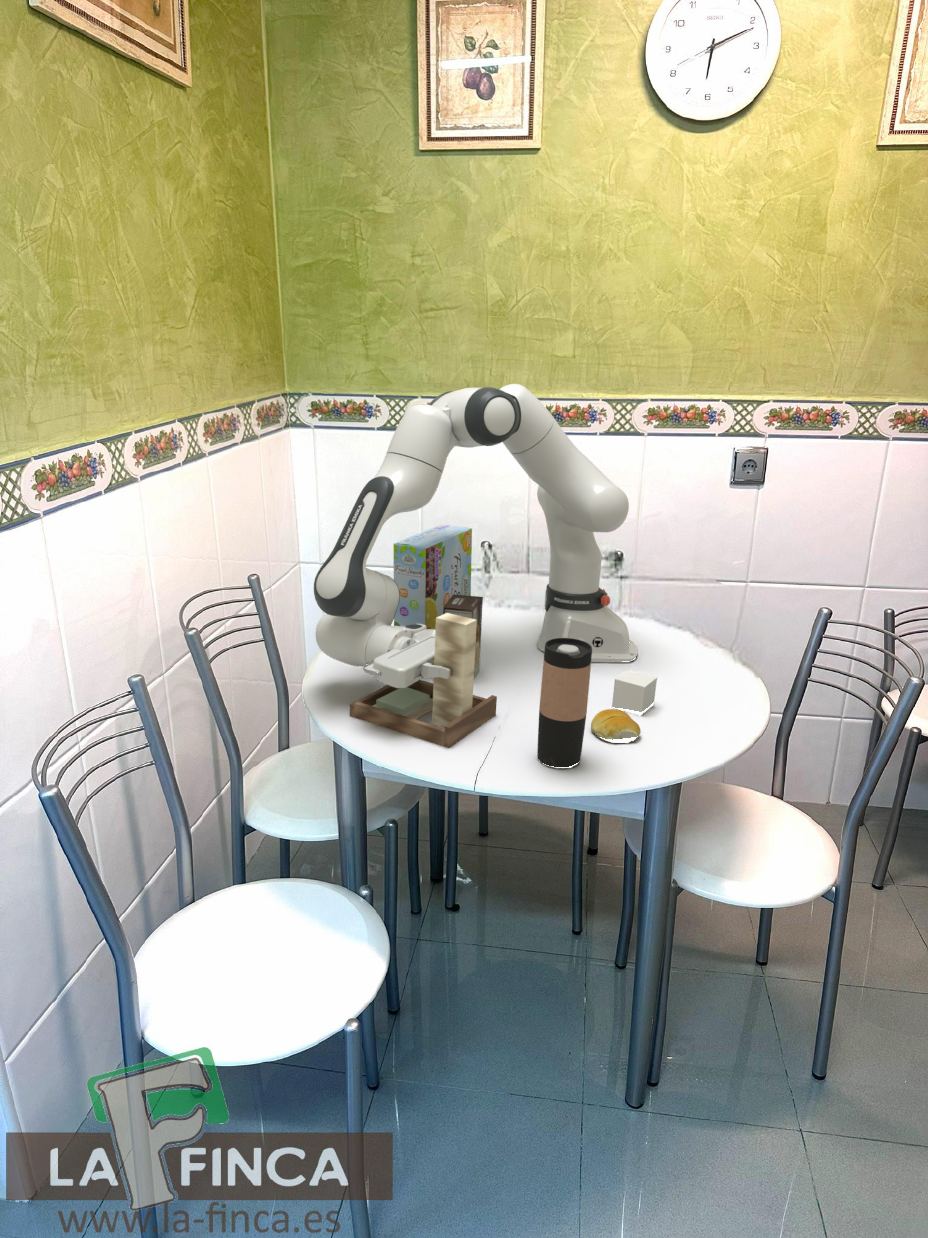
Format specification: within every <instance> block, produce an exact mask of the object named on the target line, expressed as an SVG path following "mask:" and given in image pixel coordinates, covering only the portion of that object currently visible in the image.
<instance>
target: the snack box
mask: <svg viewBox="0 0 928 1238" xmlns="http://www.w3.org/2000/svg"><path fill="white" fill-rule="evenodd" d="M472 545H473V528H472V527H466V526H465V527H464V526H459V525H452V524H442V523H440V524H439V525H436V526H434V527H432V528H429V529H427V530H424V531H421V532H419V533H417V534H414V535H412V536H409V537H406V538H404V539H402V540H400V541H397V542H394V543H393V580H394V581H395V582H396V584H397V586H398V588H399V592H400V601H399V605H398V608H397V611H396V614H395V617H394V619H393V627H394V626H407V625H413V624H423V625H426V629H435V630H436V618H437V617H439V616H441V615H443V607H444V606H445V604H446V603H447V602H448V601H449V599H450V598H451V597H452V595H454V594H455V595H467V596H472V595H471V593H472V592H471V590H472V588H471V587H472V555H473V554H472V553H473V552H472V550H473V548H472Z"/></svg>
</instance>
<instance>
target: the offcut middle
mask: <svg viewBox="0 0 928 1238" xmlns="http://www.w3.org/2000/svg"><path fill="white" fill-rule="evenodd" d="M373 706H374V707H377V708H380V709H383V710H386V709H384V708H381V707H378V706H376V704H375V705H373ZM432 706H433V699H432V698H429V701H428V702H426V703H424V704H422V705H420V706H419V707H417V708H415V709H413V710H411V711H409V712H407V713H405V714H403V715H402V716H406V717H409V718H413V717H415V716H417V715H418V714H420V713H422V712H424V711H425V710H427V709H429V708H430V707H432ZM386 711H389V710H386ZM390 712H392V711H390ZM393 713H395V712H393ZM396 714H398V713H396ZM399 715H400V714H399Z"/></svg>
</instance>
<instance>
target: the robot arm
mask: <svg viewBox="0 0 928 1238" xmlns="http://www.w3.org/2000/svg"><path fill="white" fill-rule="evenodd" d="M501 443H502V444H503V445H504V446H505V448H506V450H508V452H509V453H510V454H511V455H512V457H513V458H514V459H515V461H516V462H517V463H518V465H520V467H521V468H522V469H523V471H524V472H525V473H526V475H527V476H528V477H529V478H530V479H531V480H532V481H533V482H534V483H535V484H537V485H538V487H537V490H536V491H537V492H536V493H537V494H536V496H537V501H538V504H539V505H540V507H541V509H542V512H543V514H544V517H545V521H546V527H547V528H546V529H547V533H548V540H549V549H550V552H549V554H550V556H549V557H550V558H549V571H548V572H549V574H548V576H549V577H548V583H547V585H546V588H545V593H544V610H545V613H544V618H543V622H542V627H541V630H540V634H539V636H538V639H537V642H536V647H537V648H538V649H539V650H540V651H542V652H543V653H544V650H545V644H546V642H547V641H549V640H551V639H555V638H572V639H578V640H581V641H584V642H587V643H588V644H590V645H591V647H592V658H591V663H623V662H622V661H631V660H633V659H634V658H635V657H636V656H637V654H638V655H639V652H638V651H639V650H638V646H637V645H636V643H635V642H634V641H633V640H631V639H630V634H629V630H628V626H627V624H626V622H625V621H624V620H623V619H622V618H621V617H620V616H619V615H618V614H617V613H616V612H615V611H613V610H612V609H611V608H610V607H609V605H610V604H611V598H610V596H609V595H608V592H606V590H605V589H604V588H603V589H602V588H600V581H601V579H600V578H601V570H602V569H601V567H602V560H603V556H602V552H601V549H600V547H599V546H598V543H597V541H596V537H595V534H594V533H611V532H613V531H616V530H617V529H619V528H620V527H621V526H622V525H623V523H624V522H625V520H626V519H627V517H628V514H629V510H630V509H629V507H630V505H629V504H630V503H629V499H628V496H627V494H626V493H625V491H624V490H623V489H621V488H620V487H619V486H617V485H616V484H615V483H613V482H612V481H611V480H610V479H609V478H608V477H607V476H606V475H605V474H604V473H603V472H602V471H601V470H600V468H598V467H597V466H596V465H595V464H594V463H593V461H591V460H590V459H589V458H588V457H587V456H586V455H585V454H583V452H582V451H581V450H580V449H578V448H577V446H576V445H575V444H574V443H573V441H572V440H571V439H570V438H569V436H568V435H567V434H566V432H565V431H564V429H563V428H562V427H561V426H560V424H559V423H558V421H557V420H556V419H555V418H554V416H553V415H552V414H551V412H550V411H549V409H547V407H546V406H545V405H544V403H542V402H541V400H539V398H538V397H536V396H535V395H534V393H532V392H531V391H530V390H529V389H528V388H527V387H525V386H524V385H522V384H519V383H509V384H506V385H504V386H502V387H500V388H496V387H491V386H485V387H465V388H462V389H457V390H451V391H450V390H449V391H446V392H443V393H441V394H438V395H437V396H436V397H434V398H433V399H432V400H431V401H430V402H429V403H428V404H421V403H420V404H415V405H412V406H411V407H409V408H408V409H407V410H406V411H405V412H404V414H403V416H402V418H401V419H400V421H399V423H398V425H397V427H396V428H395V431H394V433H393V435H392V438H391V440H390V442H389V445H388V447H387V451H386V453H385V456H384V459H383V461H382V463H381V464H380V465H381V466H380V467H379V470H378V471H377V473H376V474H375V476H374V477H373V478H371V479H370V480H368V482H367V483H366V484H365V486H364V487H363V488H362V490H361V491H360V493H359V495H358V497H357V499H356V501H355V503H354V505H353V507H352V509H351V511H350V513H349V516H348V517H347V520H346V522H345V524H344V526H343V528H342V530H341V532H340V535H339V537H338V539H337V541H336V543H335V545H334V547H333V549H332V550H331V552H330V553H329V556H328V557H327V558H326V559H325V561H324V562H323V563H322V565H321V567H320V568H319V569H318V571H317V573H316V574H315V575H316V576H315V578H314V581H313V594H314V600H315V603H316V604H317V606H318V607H319V609H320V610H321V611H322V612H324V614H325V615H323V616H322V617H321V618H320V619H319V620H318V622H317V623H316V626H315V641H316V644H317V646H318V648H319V649H320V652H322V653H323V654H325V655H326V656H327V657H329V658H331V659H333V660H336V661H338V662H340V663H344V664H347V665H349V666H353V667H363V671H364V673H365V674H369V675H372V676H373V678H374V679H375V680H376V681H378V682H380V683H382V684H384V685H389V686H392V687H395V688H406V687H408V686H410V685H411V684H413V683H415V682H417V681H419V680H422V679H424V678H428V679H429V678H430V679H431V678H434V677H441V678H445V679H448V678H449V677H451V676H452V675H453V673H452V672H453V668H452V667H450V666H446V665H443V666H436V665H434V657H435V629H426V625H423V624H413V625H407V626H394V625H392V624H393V623H394V617H395V614H396V611H397V608H398V605H399V601H400V592H399V588H398V586H397V584H396V582H395V581H394V578H393V577H391V576H389V575H387V574H384V573H382V572H379V571H378V570H373V569H370V568H368V567H367V560H368V558H369V557H370V556H369V555H370V554H371V552H372V549H373V548H374V545H375V543H376V541H377V539H378V537H379V534H380V532H381V531H382V528H383V526H384V524H385V523H386V522H387V521H388V520H389V519H390V518H392V517H393V516H395V515H398V514H402V513H408V512H413V511H418V510H419V509H421V508H423V507H425V506H426V505H428V504H429V503H430V502H431V500H432V499H433V497H434V495H435V494H436V492H437V490H438V487H439V485H440V481H441V479H442V476H443V473H444V469H445V466H446V463H447V460H448V457H449V454H450V453H451V452H452V450H453V449H454V448H455V447H460V448H468V449H469V448H476V447H477V448H478V447H483V446H484V447H492V446H496V445H499V444H501ZM629 642H630V643H629Z"/></svg>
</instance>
